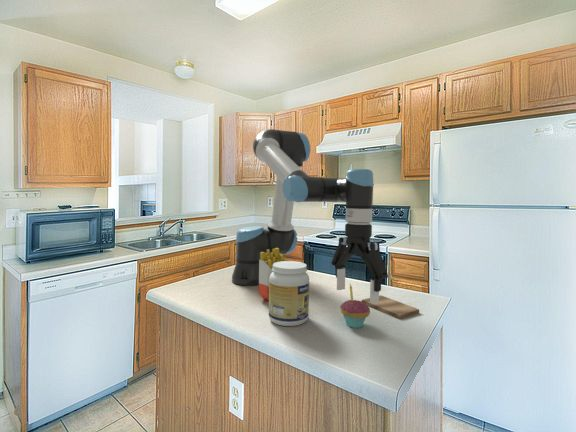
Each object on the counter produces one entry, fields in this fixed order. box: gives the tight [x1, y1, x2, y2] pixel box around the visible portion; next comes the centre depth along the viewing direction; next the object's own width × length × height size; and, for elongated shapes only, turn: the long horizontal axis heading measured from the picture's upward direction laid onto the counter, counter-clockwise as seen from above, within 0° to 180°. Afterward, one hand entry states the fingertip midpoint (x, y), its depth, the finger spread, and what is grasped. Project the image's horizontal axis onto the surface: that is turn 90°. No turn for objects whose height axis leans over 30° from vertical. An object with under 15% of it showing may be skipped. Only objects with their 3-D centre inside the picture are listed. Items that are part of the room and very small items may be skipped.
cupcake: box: [339, 283, 371, 329], centre depth 91 cm, size 9×8×12 cm
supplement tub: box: [268, 260, 310, 327], centre depth 94 cm, size 12×12×17 cm
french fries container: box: [258, 248, 288, 302], centre depth 111 cm, size 5×11×18 cm, turn 139°
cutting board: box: [361, 294, 420, 320], centre depth 105 cm, size 16×10×1 cm, turn 32°
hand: (356, 295), depth 90 cm, fingers open, 13 cm apart
